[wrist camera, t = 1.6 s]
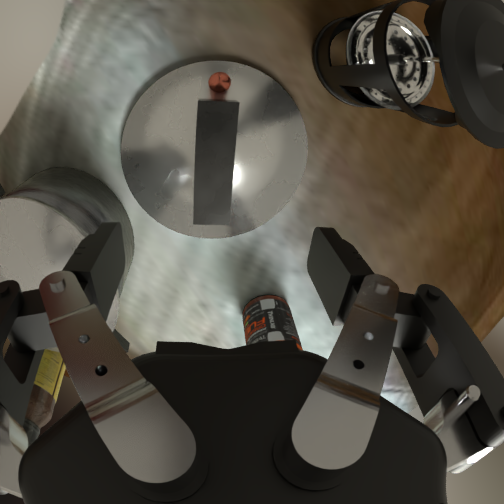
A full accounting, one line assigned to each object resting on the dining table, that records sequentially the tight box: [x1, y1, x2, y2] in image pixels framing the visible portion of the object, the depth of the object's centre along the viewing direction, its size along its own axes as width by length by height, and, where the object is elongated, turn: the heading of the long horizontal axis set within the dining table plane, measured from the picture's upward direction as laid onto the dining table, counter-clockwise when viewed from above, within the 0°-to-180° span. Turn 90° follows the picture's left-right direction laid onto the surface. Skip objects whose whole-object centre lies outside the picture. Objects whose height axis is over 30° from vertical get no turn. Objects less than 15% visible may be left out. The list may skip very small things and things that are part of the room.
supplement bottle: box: [243, 295, 302, 350], centre depth 32 cm, size 6×6×11 cm
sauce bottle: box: [23, 349, 66, 447], centre depth 27 cm, size 6×6×20 cm
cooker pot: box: [0, 167, 134, 353], centre depth 24 cm, size 22×17×9 cm
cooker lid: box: [121, 61, 308, 239], centre depth 24 cm, size 17×17×5 cm
